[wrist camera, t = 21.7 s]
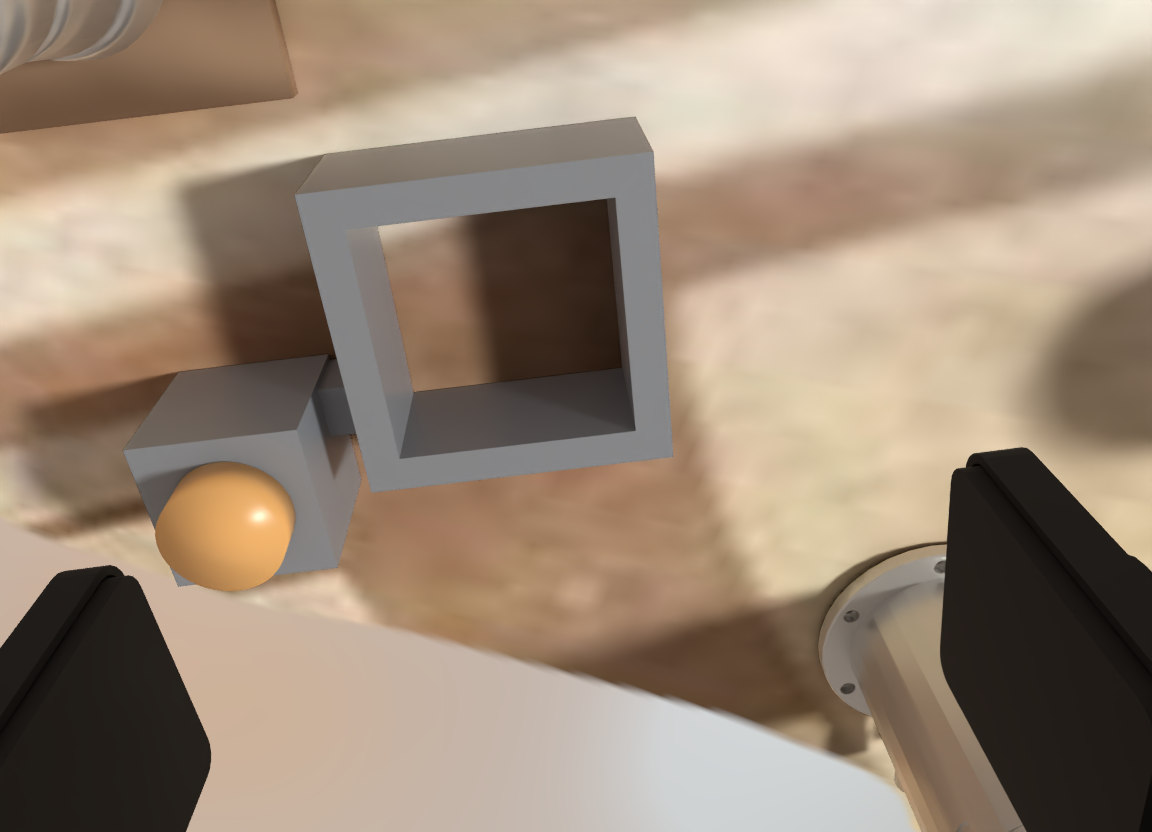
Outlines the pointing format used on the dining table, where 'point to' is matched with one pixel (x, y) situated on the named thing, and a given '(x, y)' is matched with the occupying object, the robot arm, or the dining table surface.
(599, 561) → the dining table surface
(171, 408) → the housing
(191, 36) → the pad
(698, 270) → the dining table surface
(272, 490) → the orange egg-shaped ball
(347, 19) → the dining table surface
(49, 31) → the plastic bottle
